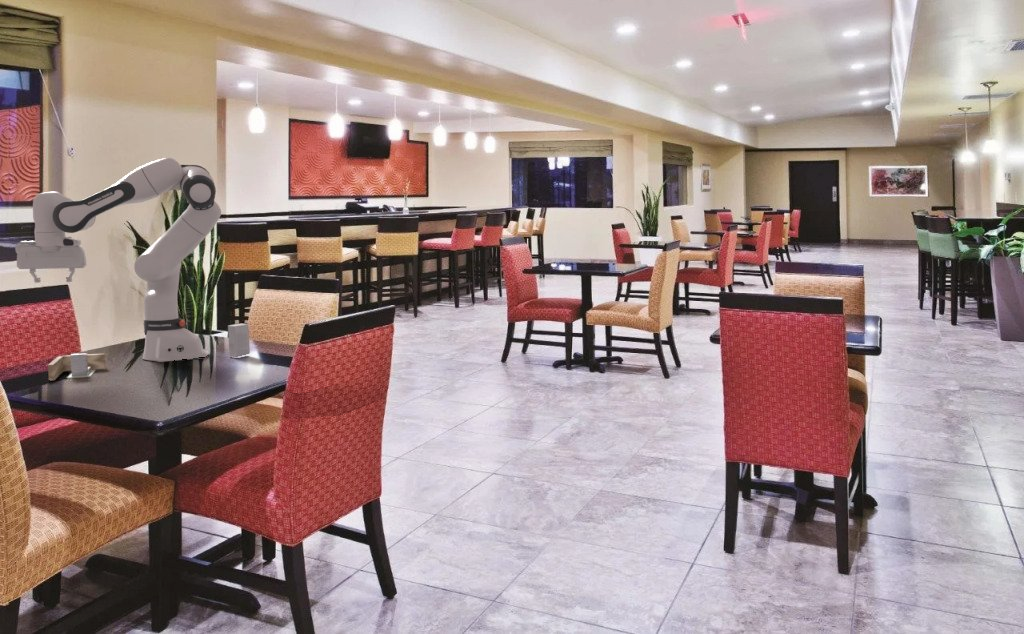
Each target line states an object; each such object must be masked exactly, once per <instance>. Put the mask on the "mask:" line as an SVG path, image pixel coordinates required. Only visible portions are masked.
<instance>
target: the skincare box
mask: <svg viewBox="0 0 1024 634" xmlns="http://www.w3.org/2000/svg"><path fill="white" fill-rule="evenodd" d="M249 330H250V329H249V324H248V323H236V324H235V323H234V324H230V325H227V333H228V334H227V335H228V350H229V352H228V353H229V357H230V356H233V357H238V356H242V355H246V354H249V353H250V354H251V352H250V351H251V347H250V332H249Z"/></svg>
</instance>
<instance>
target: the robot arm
mask: <svg viewBox="0 0 1024 634" xmlns="http://www.w3.org/2000/svg"><path fill="white" fill-rule="evenodd" d="M176 190H177V191H181V192H182V193H183V196H184V198H185V199H186V201H187V202H188V203H189V205H188V206H187V208H186V209H185V210H183V212H182V213H181V215H179V216H178V218H177V219H176V220H174V222H173V224H172V225H171V226H170V227H169V228H168V229H167V230H166V231H165V232H164V233H163V234H162V235H161V236H160V237H158V238H157V239H156V240H155V241H154V242H153V243H152V244H151V245H150V246H149V247H148V248H147V249H145V251H144V252H142V253H141V254H140V255H139V256H138V257H137V258H136V260H135V261H134V263H133V264H134V266H133V267H134V268H133V269H134V272H135V275H137V277H139V278H140V279H141V280H143V281H145V282H146V287H145V294H144V296H143V309H144V320H143V333H144V335H145V338H144V339H145V340H144V349H143V355H142V360H146V361H153V362H161V363H164V362H173V361H174V360H175V361H183V360H182V359H187V360H194V359H193V358H198V357H204V356H207V355H208V354H209V355H210V352H209V349H208V350H207V349H205V348H204V346H203V342H202V340H201V338H200V337H199V336H197V335H196V334H194V333H193V332H192V331H190V330H189V329H187V328H185V327H186V321H185V319H184V318H183V319H182V318H181V317H179V307H178V305H179V304H178V293H179V292H178V291H179V286H180V285H179V283H180V273H181V268H182V261H183V260H185V259H186V258H187V257H188V256H189V255H190V254H192V253H193V252H194V251H195V250H196V248H197V247H198V246H199V245H200V244H201V243H202V242H203V241H204V239H205V238H206V237H208V235H209V234H210V233H211V231H212V230H213V229H214V227H215V225H216V224H217V222H218V221H219V219H220V217H221V215H222V210H221V207H220V206H219V204H218V203H217V202H216V201H215V198H216V193H217V190H216V185H215V182H214V178H213V177H212V175H210V172H209V171H208V170H207V169H206V168H205V167H203V166H201V165H198V164H180V163H179V162H178V161H177V160H176V159H174V158H172V157H164V158H160V159H156V160H154V161H150V162H147V163H146V164H143V165H141V166H139V167H136V168H135V169H134V170H132V171H130V172H129V173H127V174H126V175H125V176H123V177H122V178H120V179H119V180H117V182H115V183H114V184H112V185H111V186H109V187H107V188H105V189H103V190H100V191H99V192H97V193H95V194H92V195H90V196H87V197H86V198H84V199H83V198H82V199H80V200H74V199H72V198H70V197H67V196H65V195H63V194H62V193H60V192H59V191H47V192H46V191H45V192H41V193H38V194H36V195H35V196H34V198H33V201H32V218H33V222H34V240H29V241H27V240H20V241H19V242H17V243H16V244H15V247H14V249H15V253H16V267H17V268H18V269H19V270H29V273H30V275H31V276H32V277H33V279H34V283H36V284H38V283H39V284H40V283H41V277H40V276H37V274H36V272H37V270H44V269H45V270H47V269H49V270H52V269H54V270H55V269H68V270H69V271H68V272H70V273H69V275H67V276H66V277H65V278H66V282H67V283H73V276H74V275H75V272H76V269H83V268H85V267H86V266H87V257H86V253H85V250H84V248H83V247H82V246H81V244H82V241H81V239H79V238H75V237H72V236H68V235H66V233H67V234H73V233H77V232H81V231H85V230H88V229H90V228H91V227H92V226H93V225H94V224H95V223H96V217H97V216H99V215H101V214H103V213H105V212H107V211H110V210H112V209H114V208H117V207H118V206H119V207H120V206H123V205H128V204H138V203H144V202H147V201H150V200H153V199H155V198H158V197H159V196H161V195H163V194H165V193H167V192H170V191H176ZM207 357H208V356H207ZM198 359H199V358H198ZM175 361H174V362H175Z"/></svg>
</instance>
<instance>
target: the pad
mask: <svg viewBox="0 0 1024 634" xmlns="http://www.w3.org/2000/svg"><path fill="white" fill-rule="evenodd" d="M96 370H97V369H94V370H91V372H90V373H89V374H88V375H87V376H72V372H71V373H70V374H69V375H68V376H66V379H77V378H90V377H91V376H92V375H93V374H94V373H95V372H96Z"/></svg>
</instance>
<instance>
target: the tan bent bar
mask: <svg viewBox="0 0 1024 634" xmlns="http://www.w3.org/2000/svg"><path fill="white" fill-rule="evenodd" d="M70 355H71V354H69V355H58V356H56V357H55V358H54V359H52V361H50V363H48V364H47V372H48V381H49V380H50V382H51V381H55V380H56V379H57V378H59V377H60V375H62V374H63V372H72V370H71V357H70ZM87 363H88V366H91V370H106V369H107V362H106V353H91V354H88V353H87Z"/></svg>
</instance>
